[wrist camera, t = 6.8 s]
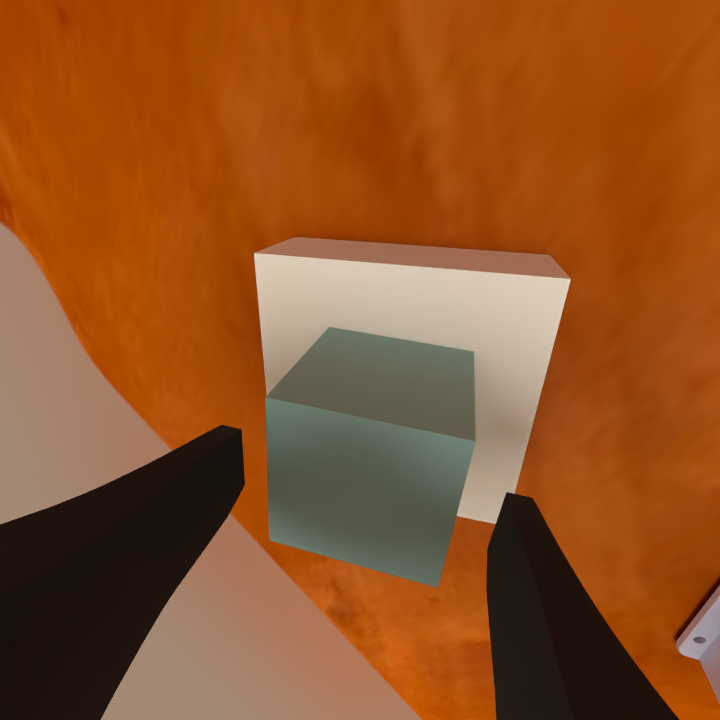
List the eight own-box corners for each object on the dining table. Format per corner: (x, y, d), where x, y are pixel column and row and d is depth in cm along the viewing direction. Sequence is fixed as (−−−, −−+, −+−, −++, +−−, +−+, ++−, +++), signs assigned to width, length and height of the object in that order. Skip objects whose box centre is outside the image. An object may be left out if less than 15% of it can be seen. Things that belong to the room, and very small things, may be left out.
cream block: (499, 461, 19) (506, 526, 16) (306, 427, 22) (273, 478, 18) (548, 252, 15) (571, 278, 12) (298, 235, 17) (253, 253, 14)
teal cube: (446, 469, 15) (437, 587, 11) (323, 441, 16) (269, 540, 12) (473, 351, 13) (475, 441, 9) (329, 326, 14) (265, 397, 10)
